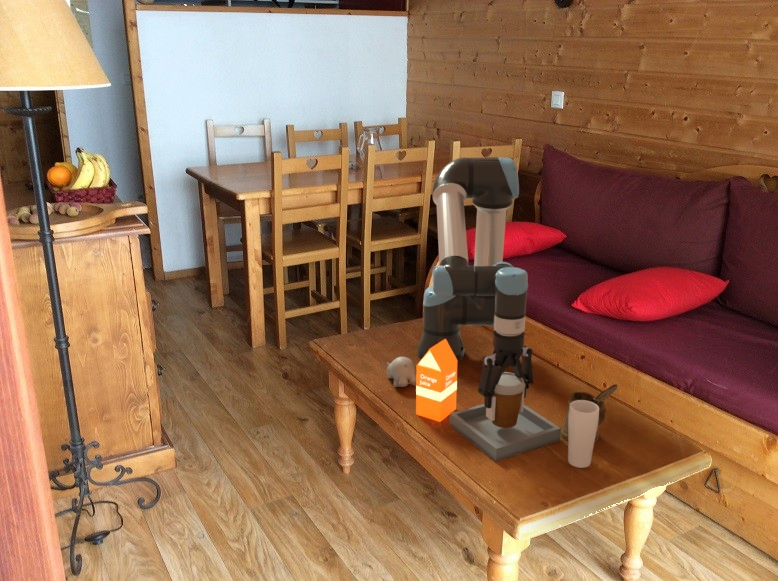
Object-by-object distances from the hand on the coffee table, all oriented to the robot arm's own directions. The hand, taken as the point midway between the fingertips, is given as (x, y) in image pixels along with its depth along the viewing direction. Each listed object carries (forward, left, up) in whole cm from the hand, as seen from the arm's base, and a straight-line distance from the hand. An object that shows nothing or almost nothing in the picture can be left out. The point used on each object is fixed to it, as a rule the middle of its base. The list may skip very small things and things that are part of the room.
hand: (504, 413), depth 178 cm
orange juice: (-18, -9, -6) cm, 21 cm away
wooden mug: (+13, +16, -6) cm, 21 cm away
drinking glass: (+20, +7, -6) cm, 22 cm away
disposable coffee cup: (0, 0, -3) cm, 3 cm away
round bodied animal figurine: (-38, -9, -6) cm, 40 cm away
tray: (0, 0, -5) cm, 5 cm away
